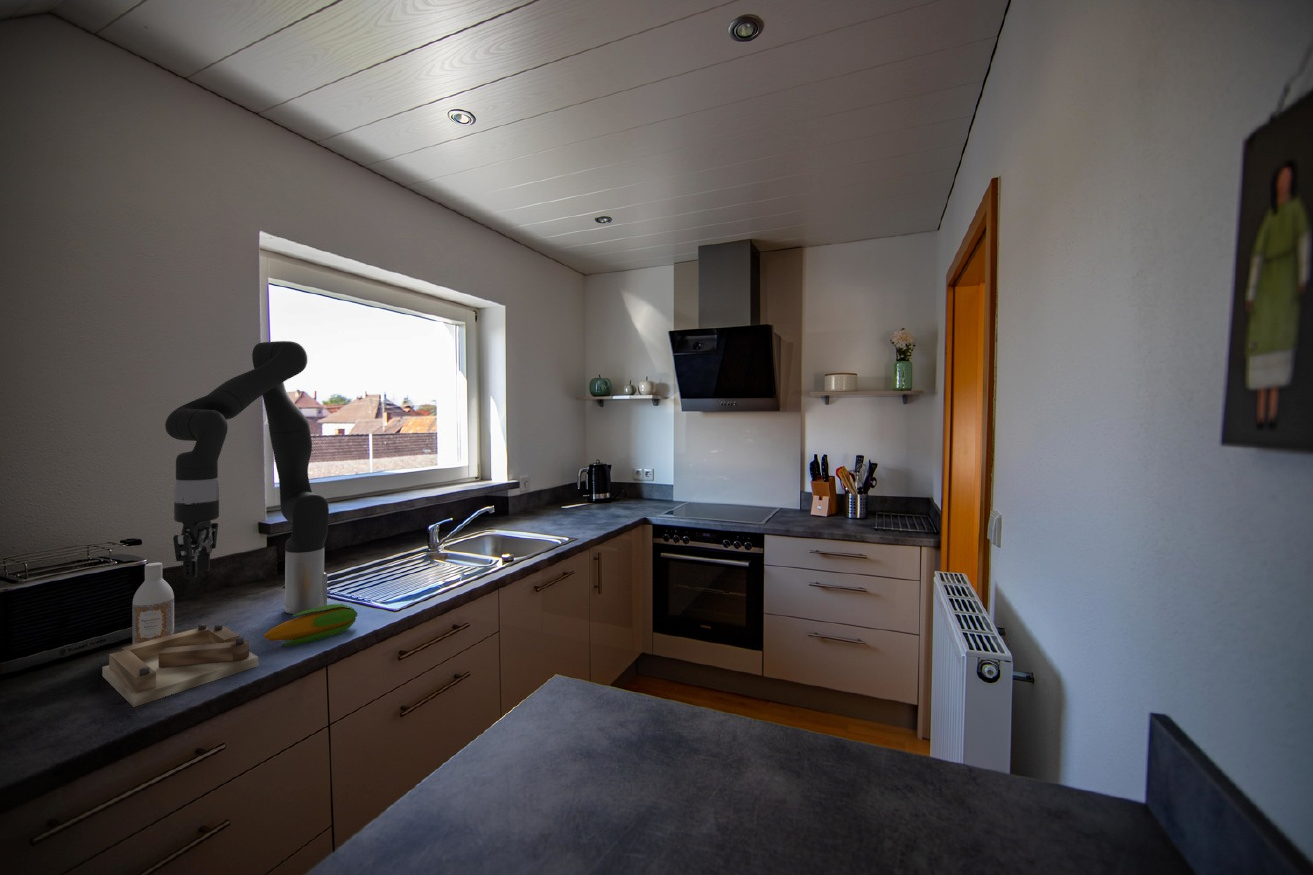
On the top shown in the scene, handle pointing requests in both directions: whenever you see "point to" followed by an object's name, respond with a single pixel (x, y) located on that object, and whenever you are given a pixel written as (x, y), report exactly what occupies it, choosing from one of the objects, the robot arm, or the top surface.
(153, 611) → the bath foam
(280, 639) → the corn
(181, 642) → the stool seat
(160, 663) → the brown rectangular block
